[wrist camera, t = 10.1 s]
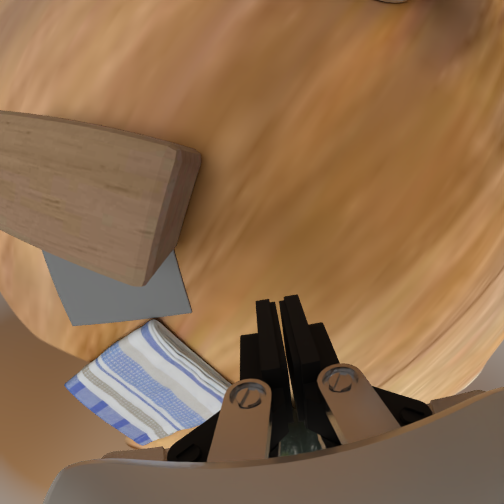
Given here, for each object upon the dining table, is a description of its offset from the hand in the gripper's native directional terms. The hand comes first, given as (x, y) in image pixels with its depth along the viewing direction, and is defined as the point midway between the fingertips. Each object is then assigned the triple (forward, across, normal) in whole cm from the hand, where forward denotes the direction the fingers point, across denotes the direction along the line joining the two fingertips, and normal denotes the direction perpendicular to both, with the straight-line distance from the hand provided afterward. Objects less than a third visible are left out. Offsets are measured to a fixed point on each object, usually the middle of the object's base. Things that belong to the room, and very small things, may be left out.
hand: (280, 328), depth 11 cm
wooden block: (+12, +6, -3) cm, 14 cm away
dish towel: (+17, +19, +21) cm, 33 cm away
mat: (+17, +17, +1) cm, 24 cm away
